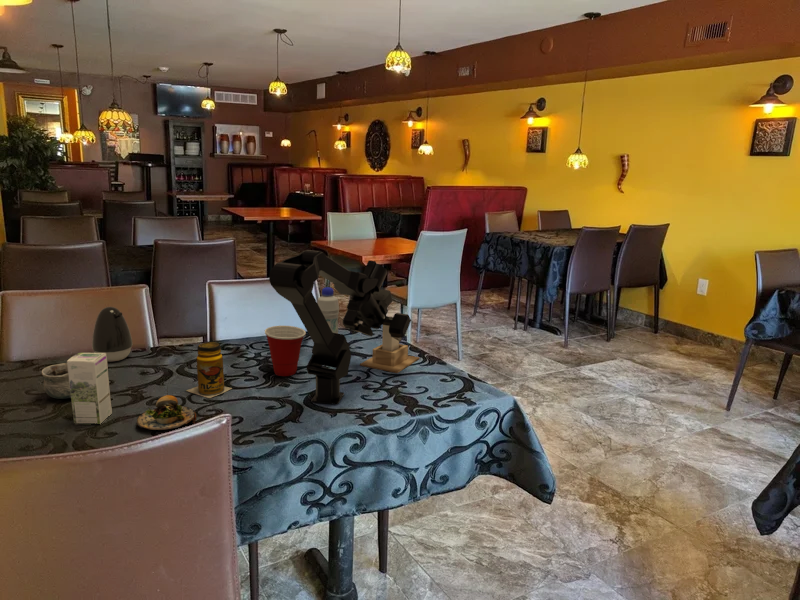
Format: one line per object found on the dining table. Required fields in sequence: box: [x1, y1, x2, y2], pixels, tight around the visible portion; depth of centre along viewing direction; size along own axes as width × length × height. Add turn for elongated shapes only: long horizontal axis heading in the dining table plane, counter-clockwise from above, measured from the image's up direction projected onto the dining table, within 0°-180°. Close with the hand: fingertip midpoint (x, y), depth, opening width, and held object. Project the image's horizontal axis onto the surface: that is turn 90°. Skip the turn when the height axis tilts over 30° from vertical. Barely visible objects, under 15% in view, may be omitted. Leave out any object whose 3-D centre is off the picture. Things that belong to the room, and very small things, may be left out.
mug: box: [40, 362, 71, 400], centre depth 135 cm, size 10×12×10 cm
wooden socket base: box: [359, 343, 420, 374], centre depth 165 cm, size 14×12×4 cm
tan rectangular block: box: [381, 325, 400, 352], centre depth 164 cm, size 4×3×12 cm, turn 153°
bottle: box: [317, 286, 340, 334], centre depth 171 cm, size 7×7×20 cm
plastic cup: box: [264, 325, 307, 377], centre depth 153 cm, size 11×11×12 cm
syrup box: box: [66, 352, 113, 425], centre depth 122 cm, size 6×6×14 cm
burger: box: [136, 386, 197, 431], centre depth 122 cm, size 12×12×8 cm
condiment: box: [185, 341, 233, 399], centre depth 140 cm, size 7×8×12 cm
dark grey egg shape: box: [91, 306, 134, 363], centre depth 161 cm, size 10×10×15 cm
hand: (386, 337), depth 161 cm, fingers open, 9 cm apart
